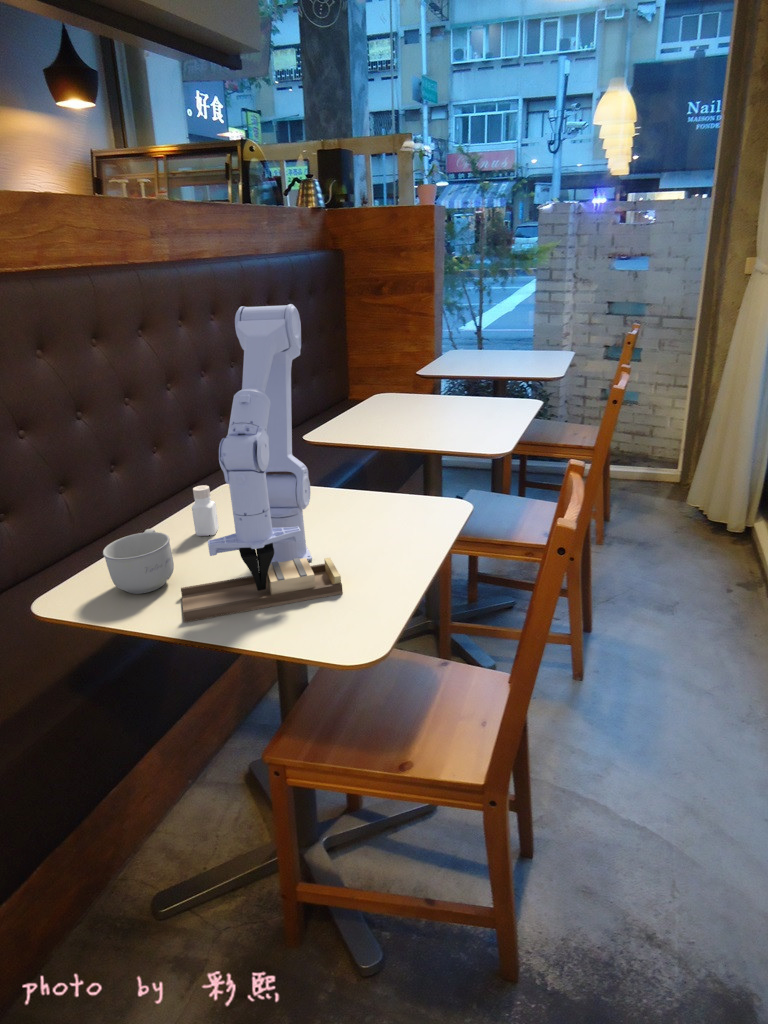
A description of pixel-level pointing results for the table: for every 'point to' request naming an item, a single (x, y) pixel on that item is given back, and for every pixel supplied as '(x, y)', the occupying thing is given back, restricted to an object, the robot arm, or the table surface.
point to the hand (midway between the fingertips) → (261, 587)
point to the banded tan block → (290, 576)
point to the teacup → (140, 561)
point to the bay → (253, 594)
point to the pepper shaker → (204, 512)
